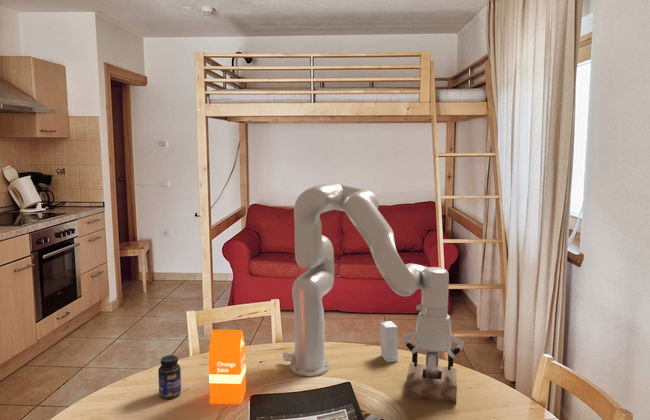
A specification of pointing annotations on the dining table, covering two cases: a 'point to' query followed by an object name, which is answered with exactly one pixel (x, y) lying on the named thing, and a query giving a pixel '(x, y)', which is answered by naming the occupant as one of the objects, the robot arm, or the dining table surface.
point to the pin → (432, 364)
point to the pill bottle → (169, 377)
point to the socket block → (432, 384)
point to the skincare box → (389, 341)
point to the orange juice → (227, 367)
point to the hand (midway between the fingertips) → (432, 366)
